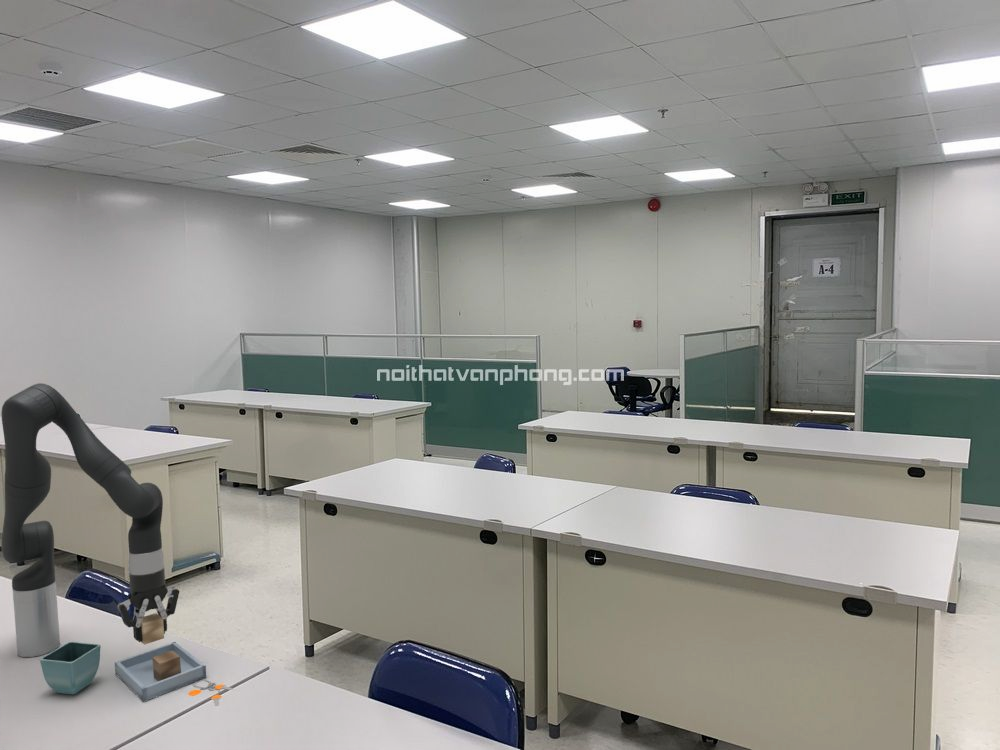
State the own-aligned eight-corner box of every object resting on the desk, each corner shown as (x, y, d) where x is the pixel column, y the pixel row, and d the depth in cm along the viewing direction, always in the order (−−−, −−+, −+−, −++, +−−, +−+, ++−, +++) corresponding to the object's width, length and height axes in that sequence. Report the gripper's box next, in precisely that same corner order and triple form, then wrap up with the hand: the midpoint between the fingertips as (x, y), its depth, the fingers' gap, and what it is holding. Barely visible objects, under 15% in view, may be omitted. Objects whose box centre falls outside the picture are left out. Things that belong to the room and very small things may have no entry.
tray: (115, 674, 166) (114, 662, 166) (175, 653, 176) (174, 641, 176) (143, 702, 154) (142, 689, 154) (206, 677, 164) (205, 665, 164)
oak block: (144, 644, 164) (143, 624, 163) (137, 638, 167) (136, 618, 166) (164, 638, 167) (163, 618, 166) (157, 632, 170) (156, 612, 170)
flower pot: (74, 701, 155) (71, 662, 154) (41, 697, 157) (38, 659, 156) (104, 680, 163) (101, 644, 163) (72, 677, 165) (69, 641, 164)
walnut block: (161, 684, 159) (159, 663, 159) (153, 677, 162) (152, 657, 162) (181, 677, 163) (180, 656, 162) (173, 670, 166) (172, 650, 165)
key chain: (179, 693, 158) (178, 689, 158) (207, 678, 164) (207, 675, 164) (214, 708, 151) (214, 705, 151) (242, 693, 158) (242, 689, 158)
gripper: (119, 580, 158) (124, 652, 159) (183, 563, 168) (187, 631, 169) (108, 572, 163) (113, 642, 164) (171, 556, 173) (175, 623, 175)
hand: (151, 636), depth 167 cm, fingers closed on oak block, 4 cm apart
